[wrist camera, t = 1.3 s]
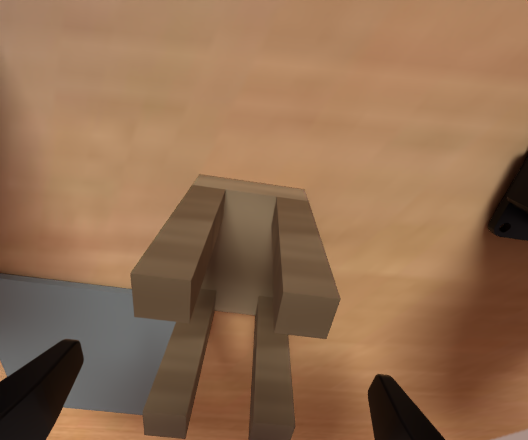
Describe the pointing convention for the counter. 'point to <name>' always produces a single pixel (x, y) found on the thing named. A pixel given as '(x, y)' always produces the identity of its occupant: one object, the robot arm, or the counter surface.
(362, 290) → the counter surface
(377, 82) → the counter surface
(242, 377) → the counter surface
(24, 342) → the mat
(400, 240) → the counter surface
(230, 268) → the wooden chair
